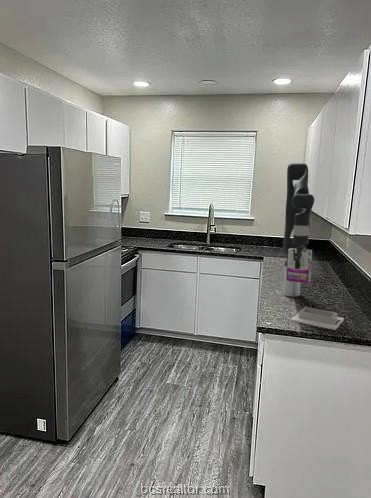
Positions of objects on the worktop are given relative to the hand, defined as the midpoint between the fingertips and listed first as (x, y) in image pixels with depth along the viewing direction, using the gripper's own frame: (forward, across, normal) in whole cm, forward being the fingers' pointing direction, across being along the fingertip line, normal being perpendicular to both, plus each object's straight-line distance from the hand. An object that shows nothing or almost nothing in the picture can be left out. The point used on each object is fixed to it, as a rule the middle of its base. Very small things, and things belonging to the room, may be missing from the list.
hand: (299, 267), depth 188 cm
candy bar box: (+7, 0, 0) cm, 7 cm away
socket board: (+22, +12, +14) cm, 28 cm away
